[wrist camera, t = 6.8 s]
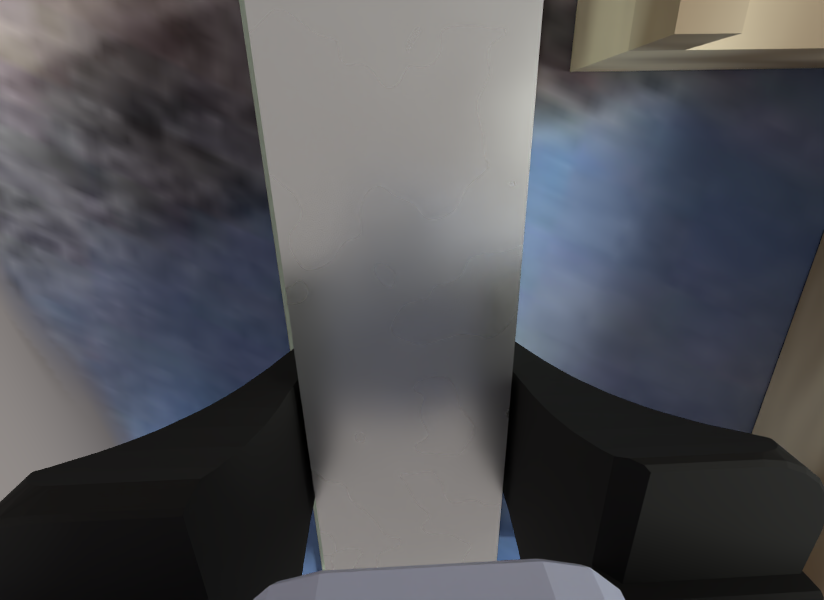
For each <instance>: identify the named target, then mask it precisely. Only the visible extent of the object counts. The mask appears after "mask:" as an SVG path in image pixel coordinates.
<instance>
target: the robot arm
mask: <svg viewBox="0 0 824 600" xmlns="http://www.w3.org/2000/svg"><path fill="white" fill-rule="evenodd" d="M503 493H504V496H505V500H506V503H507V506H508V509H509V513H510V517H511V521H512V526H513V530H514V534H515V538H516V542H517V546H518V550H519V554H520V559H521V560H504V561H486V562H468V563H450V564H432V565H413V566H395V567H377V568H359V569H341V570H323V571H318V572H314V573H310V574H306V575H302V571H303V564H304V557H305V551H306V545H307V538H308V532H309V526H310V520H311V515H312V510H313V506H314V501H315V493H314V486H313V479H312V472H311V465H310V458H309V451H308V444H307V437H306V430H305V423H304V416H303V409H302V402H301V395H300V388H299V381H298V374H297V367H296V360H295V353H294V348H293V349H292V350H291V351H290V352H289V353H287V354H286V355H285V356H283V357H282V358H281V359H280V360H278V361H277V362H276V363H274V364H273V365H272V366H271V367H269V368H268V369H267V370H265V371H264V372H262V373H261V374H259V375H258V376H257V377H255V378H254V379H252V380H251V381H249V382H248V383H247V384H245V385H244V386H242V387H241V388H239V389H237V390H236V391H234V392H233V393H231V394H229V395H228V396H226V397H224V398H222V399H221V400H219V401H217V402H215V403H214V404H212V405H210V406H208V407H206V408H204V409H202V410H200V411H198V412H196V413H194V414H192V415H190V416H188V417H186V418H183V419H181V420H179V421H177V422H175V423H173V424H171V425H169V426H166V427H164V428H162V429H159V430H157V431H155V432H152V433H150V434H147V435H145V436H142V437H140V438H137V439H134V440H132V441H129V442H126V443H123V444H121V445H118V446H115V447H113V448H109V449H107V450H104V451H101V452H98V453H95V454H91V455H88V456H85V457H82V458H78V459H75V460H72V461H68V462H65V463H62V464H59V465H55V466H52V467H49V468H45V469H42V470H38V471H34V472H32V473H31V474H30V475H28V476H27V477H26V478H25V479H24V480H23V481H22V482H21V483H20V484H19V485H18V486H17V487H16V488H15V489H14V490H13V491H11V492H10V493H9V494H8V495H7V496H6V497H5V498H4V499H3V500H2V501H1V502H0V600H823V599H824V597H823V594H822V591H821V590H820V589H819V588H818V587H817V586H816V585H815V584H814V583H813V581H812V580H811V579H810V578H809V577H808V576H807V575H806V574H805V573H804V572H803V571H802V570H803V568H804V566H805V564H806V562H807V560H808V558H809V556H810V554H811V552H812V550H813V548H814V546H815V544H816V542H817V540H818V538H819V536H820V534H821V531H822V529H823V527H824V485H823V483H822V481H821V479H820V478H819V477H818V476H817V475H816V474H814V473H813V472H812V471H811V470H809V469H808V468H807V467H806V466H805V465H803V464H802V463H801V462H800V461H798V460H797V459H796V458H795V457H794V456H792V455H791V454H790V453H789V452H787V451H786V450H785V449H784V448H783V447H781V446H780V445H779V444H778V443H776V442H775V441H774V440H773V439H771V438H769V437H764V436H759V435H754V434H750V433H745V432H740V431H735V430H730V429H726V428H721V427H716V426H711V425H707V424H703V423H699V422H695V421H692V420H688V419H684V418H681V417H677V416H673V415H670V414H666V413H663V412H660V411H657V410H653V409H650V408H647V407H644V406H641V405H639V404H636V403H633V402H630V401H627V400H625V399H622V398H619V397H617V396H614V395H612V394H609V393H607V392H604V391H602V390H600V389H598V388H595V387H593V386H591V385H589V384H587V383H584V382H582V381H580V380H578V379H576V378H574V377H572V376H570V375H569V374H567V373H565V372H563V371H561V370H560V369H558V368H556V367H554V366H552V365H551V364H549V363H547V362H546V361H544V360H542V359H541V358H539V357H538V356H536V355H535V354H533V353H531V352H530V351H528V350H527V349H525V348H524V347H522V346H521V345H519V344H518V343H516V342H515V347H514V359H513V371H512V383H511V395H510V407H509V419H508V431H507V443H506V455H505V467H504V479H503Z"/></svg>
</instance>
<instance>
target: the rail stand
mask: <svg viewBox="0 0 824 600" xmlns="http://www.w3.org/2000/svg"><path fill="white" fill-rule="evenodd" d="M795 68H824V0H578V2H577V11H576V20H575V29H574V39H573V48H572V57H571V66H570V72H600V71H665V70H730V69H795ZM752 434H754V435H759V436H764V437H769V438H771V439H773V440H774V441H775V442H776V443H778V444H779V445H780V446H781V447H783V448H784V449H785V450H786V451H787V452H789V453H790V454H791V455H792V456H794V457H795V458H796V459H797V460H798V461H800V462H801V463H802V464H803V465H805V466H806V467H807V468H808V469H809V470H811V471H812V472H813V473H814V474H816V475H817V476H818V477H819V478H820V479H821V481H822V483H823V485H824V233H823V236H822V239H821V242H820V245H819V247H818V250H817V253H816V256H815V258H814V261H813V264H812V267H811V270H810V272H809V275H808V278H807V281H806V284H805V286H804V289H803V292H802V295H801V298H800V300H799V303H798V306H797V309H796V311H795V314H794V317H793V320H792V323H791V325H790V328H789V331H788V334H787V337H786V339H785V342H784V345H783V348H782V350H781V353H780V356H779V359H778V362H777V364H776V367H775V370H774V373H773V376H772V378H771V381H770V384H769V387H768V390H767V392H766V395H765V398H764V401H763V403H762V406H761V409H760V412H759V415H758V417H757V420H756V423H755V426H754V429H753V431H752ZM802 571H803V572H804V573H805V574H806V575H807V576H808V577H809V578H810V579H811V580H812V581H813V583H814V584H815V585H816V586H817V587H818V588H819V589H820V590H821V591H822V594H823V597H824V527H823V529H822V531H821V534H820V536H819V538H818V540H817V542H816V544H815V546H814V548H813V550H812V552H811V554H810V556H809V558H808V560H807V562H806V564H805V566H804V568H803V570H802ZM823 600H824V599H823Z"/></svg>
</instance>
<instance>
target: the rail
mask: <svg viewBox="0 0 824 600" xmlns="http://www.w3.org/2000/svg"><path fill="white" fill-rule="evenodd" d="M543 1H544V0H244V2H245V9H246V16H247V23H248V30H249V37H250V44H251V51H252V58H253V65H254V72H255V79H256V86H257V93H258V100H259V107H260V114H261V121H262V128H263V135H264V142H265V149H266V156H267V163H268V170H269V178H270V185H271V192H272V199H273V206H274V213H275V220H276V227H277V234H278V241H279V248H280V255H281V262H282V269H283V276H284V283H285V290H286V297H287V304H288V311H289V318H290V325H291V332H292V339H293V346H294V353H295V360H296V367H297V374H298V381H299V388H300V395H301V402H302V409H303V416H304V423H305V430H306V437H307V444H308V451H309V458H310V465H311V472H312V479H313V486H314V493H315V500H316V507H317V514H318V521H319V528H320V535H321V542H322V549H323V556H324V563H325V570H341V569H359V568H377V567H395V566H413V565H432V564H450V563H468V562H486V561H497V551H498V539H499V527H500V515H501V503H502V491H503V479H504V467H505V455H506V443H507V431H508V419H509V407H510V395H511V383H512V371H513V359H514V347H515V336H516V324H517V312H518V300H519V288H520V276H521V264H522V252H523V240H524V228H525V216H526V204H527V192H528V180H529V168H530V156H531V144H532V132H533V120H534V108H535V97H536V85H537V73H538V61H539V49H540V37H541V25H542V13H543Z"/></svg>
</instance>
